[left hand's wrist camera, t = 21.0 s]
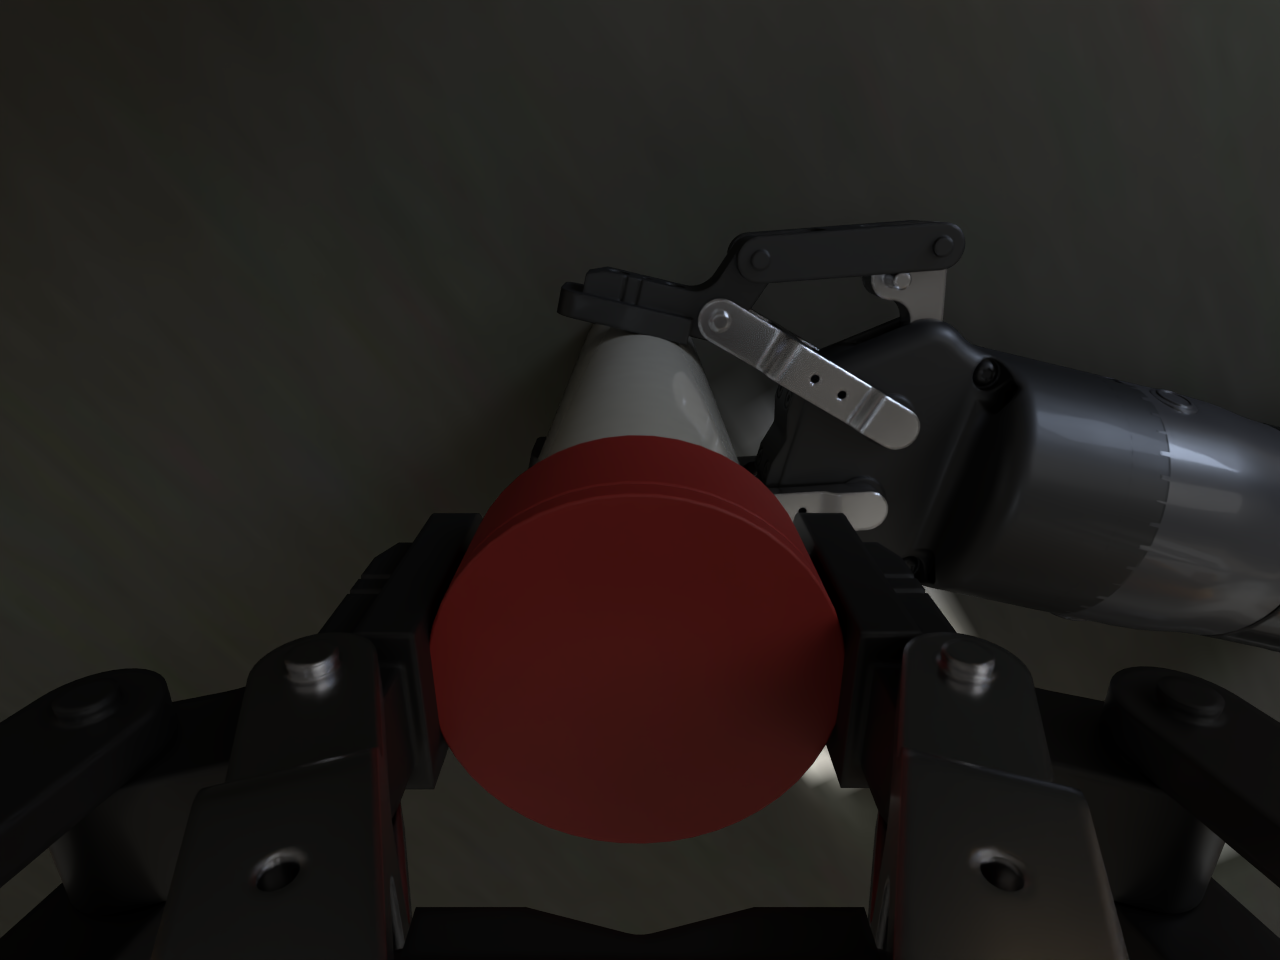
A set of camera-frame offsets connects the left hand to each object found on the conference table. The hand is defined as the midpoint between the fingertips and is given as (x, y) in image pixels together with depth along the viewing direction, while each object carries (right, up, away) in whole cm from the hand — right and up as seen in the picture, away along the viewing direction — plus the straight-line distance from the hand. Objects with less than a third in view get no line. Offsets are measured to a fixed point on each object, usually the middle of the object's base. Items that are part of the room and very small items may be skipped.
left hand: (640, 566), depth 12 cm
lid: (0, -1, -3) cm, 3 cm away
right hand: (-3, +4, +10) cm, 11 cm away
